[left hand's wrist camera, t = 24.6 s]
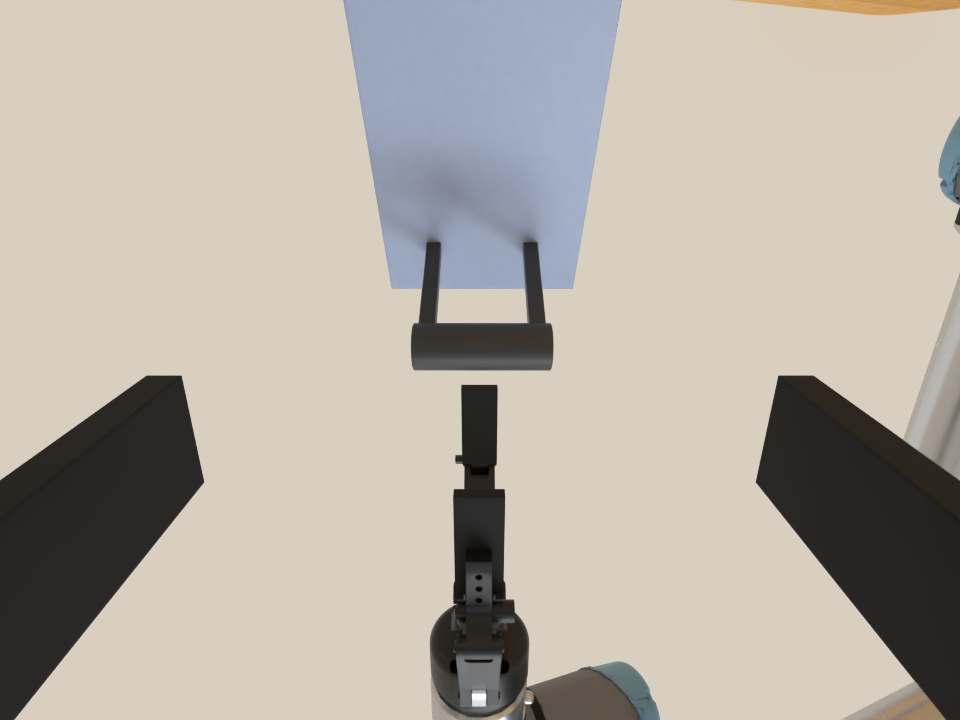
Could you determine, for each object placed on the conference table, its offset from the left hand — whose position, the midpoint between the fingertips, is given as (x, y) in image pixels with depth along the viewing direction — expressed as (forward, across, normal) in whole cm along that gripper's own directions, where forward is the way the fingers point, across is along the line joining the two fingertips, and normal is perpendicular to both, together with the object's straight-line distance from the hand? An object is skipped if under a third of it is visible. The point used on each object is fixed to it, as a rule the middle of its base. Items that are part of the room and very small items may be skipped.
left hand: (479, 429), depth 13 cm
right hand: (+21, 0, +11) cm, 23 cm away
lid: (+15, 0, -6) cm, 16 cm away
